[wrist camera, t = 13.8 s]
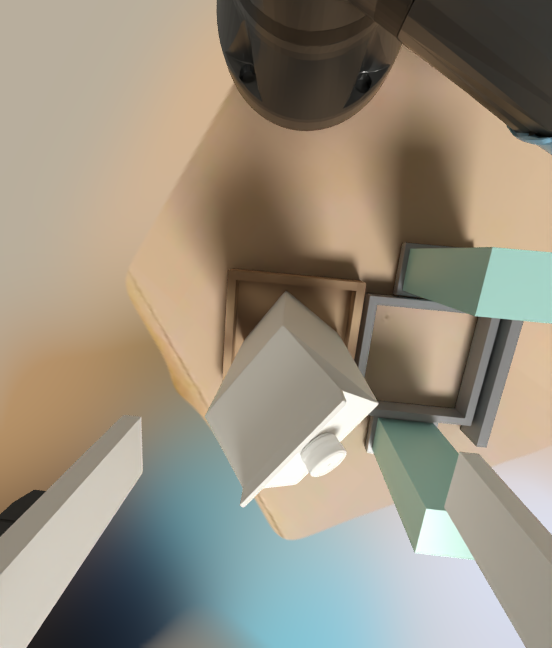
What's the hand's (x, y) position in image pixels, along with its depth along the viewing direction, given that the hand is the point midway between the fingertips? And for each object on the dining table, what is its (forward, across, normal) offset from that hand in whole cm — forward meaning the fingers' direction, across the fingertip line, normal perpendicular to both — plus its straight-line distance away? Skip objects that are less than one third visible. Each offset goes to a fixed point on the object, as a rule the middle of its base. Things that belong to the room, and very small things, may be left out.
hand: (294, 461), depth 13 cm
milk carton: (+20, 0, -1) cm, 20 cm away
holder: (+20, +13, -2) cm, 24 cm away
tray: (+20, 0, -1) cm, 20 cm away
